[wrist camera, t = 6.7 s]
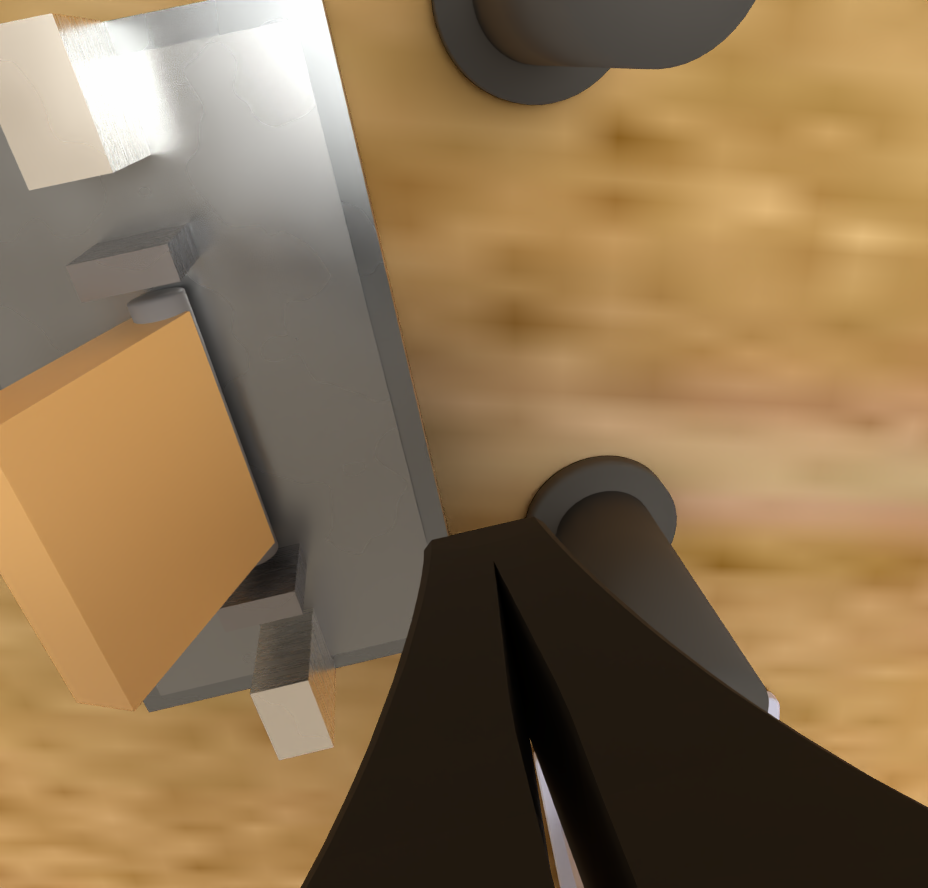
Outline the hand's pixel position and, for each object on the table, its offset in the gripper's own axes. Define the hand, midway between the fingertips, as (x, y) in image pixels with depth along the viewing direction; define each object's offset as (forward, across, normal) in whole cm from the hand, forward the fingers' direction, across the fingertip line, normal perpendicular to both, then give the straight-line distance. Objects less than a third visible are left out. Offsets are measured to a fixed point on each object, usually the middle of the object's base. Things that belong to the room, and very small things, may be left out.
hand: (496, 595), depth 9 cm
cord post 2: (+10, -4, +6) cm, 12 cm away
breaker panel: (+10, +4, 0) cm, 11 cm away
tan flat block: (+6, +4, 0) cm, 8 cm away
